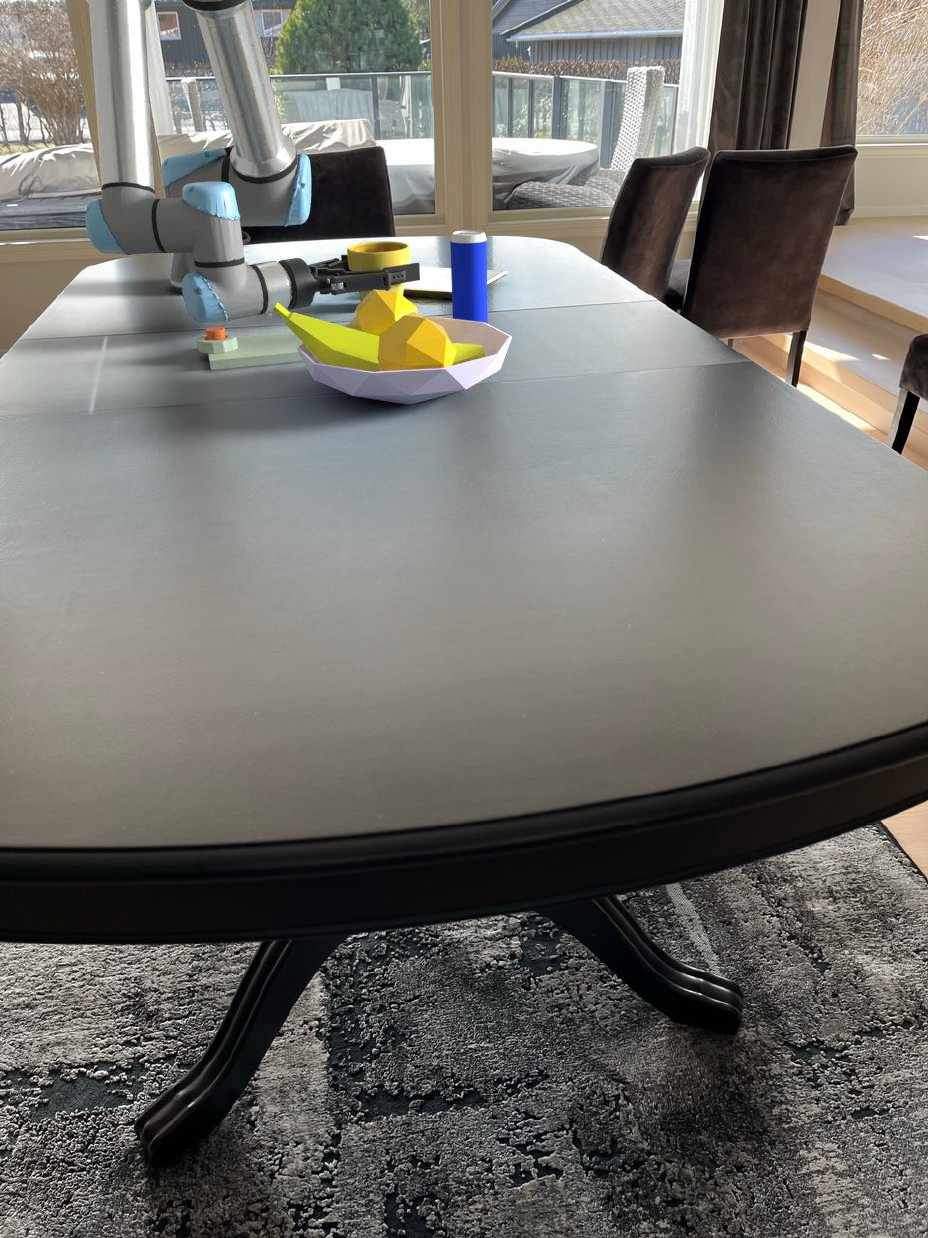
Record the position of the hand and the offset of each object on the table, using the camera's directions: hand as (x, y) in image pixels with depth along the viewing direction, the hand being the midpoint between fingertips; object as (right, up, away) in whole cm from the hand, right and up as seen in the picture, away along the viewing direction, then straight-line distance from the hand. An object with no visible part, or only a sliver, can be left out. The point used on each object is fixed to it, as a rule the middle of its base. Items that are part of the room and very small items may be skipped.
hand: (400, 266), depth 160 cm
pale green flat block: (-18, -21, -23) cm, 36 cm away
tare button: (-25, -20, -26) cm, 41 cm away
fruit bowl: (+2, -30, -39) cm, 49 cm away
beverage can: (+12, -19, -20) cm, 29 cm away
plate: (+7, 0, +11) cm, 13 cm away
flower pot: (-3, -7, +1) cm, 7 cm away
